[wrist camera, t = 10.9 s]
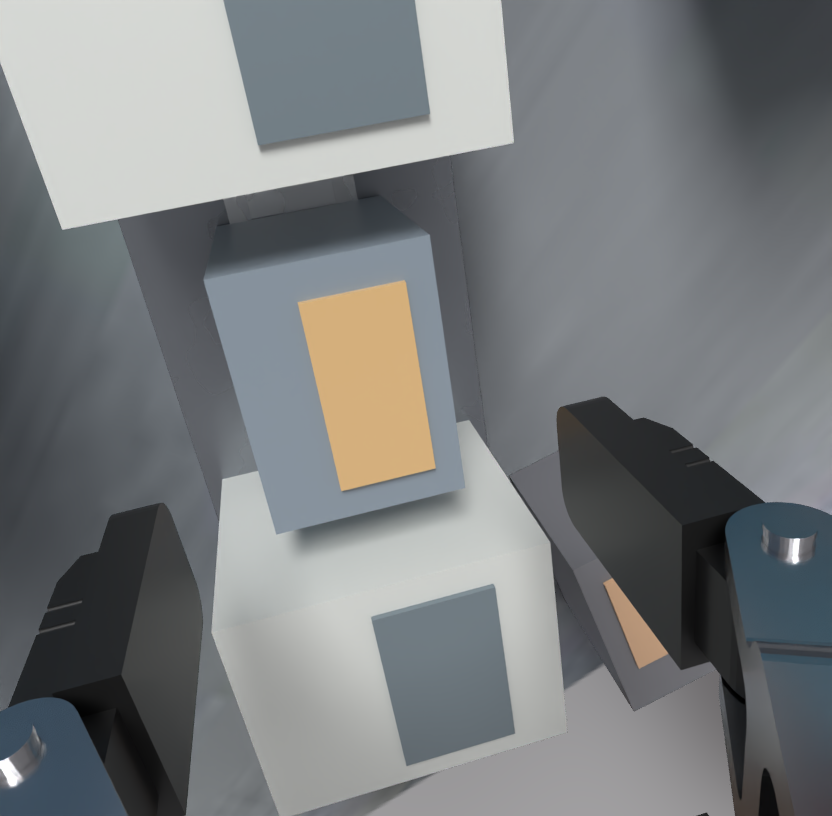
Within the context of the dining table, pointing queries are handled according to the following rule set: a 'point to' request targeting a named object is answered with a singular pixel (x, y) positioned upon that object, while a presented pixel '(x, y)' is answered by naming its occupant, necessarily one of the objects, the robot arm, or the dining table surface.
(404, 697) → the mounted modules
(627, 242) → the dining table surface
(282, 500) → the block
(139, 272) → the rail
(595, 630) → the block
